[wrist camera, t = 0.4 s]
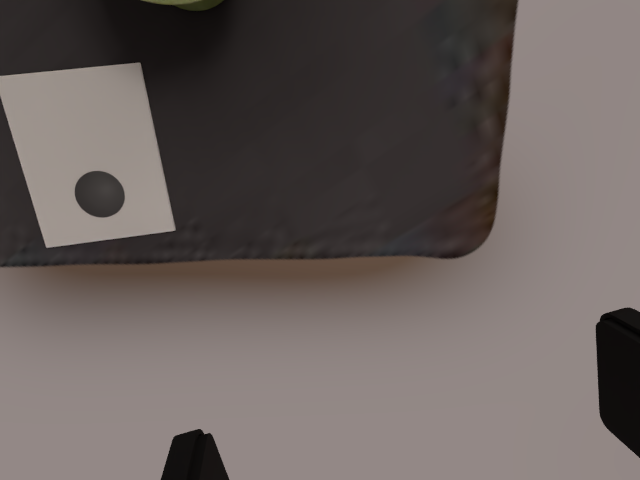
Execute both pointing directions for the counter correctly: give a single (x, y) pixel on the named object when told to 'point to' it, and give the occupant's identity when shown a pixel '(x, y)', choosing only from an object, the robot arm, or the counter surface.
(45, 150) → the paper
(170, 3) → the plant pot
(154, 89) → the counter surface
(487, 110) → the counter surface
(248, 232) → the counter surface
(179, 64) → the counter surface
